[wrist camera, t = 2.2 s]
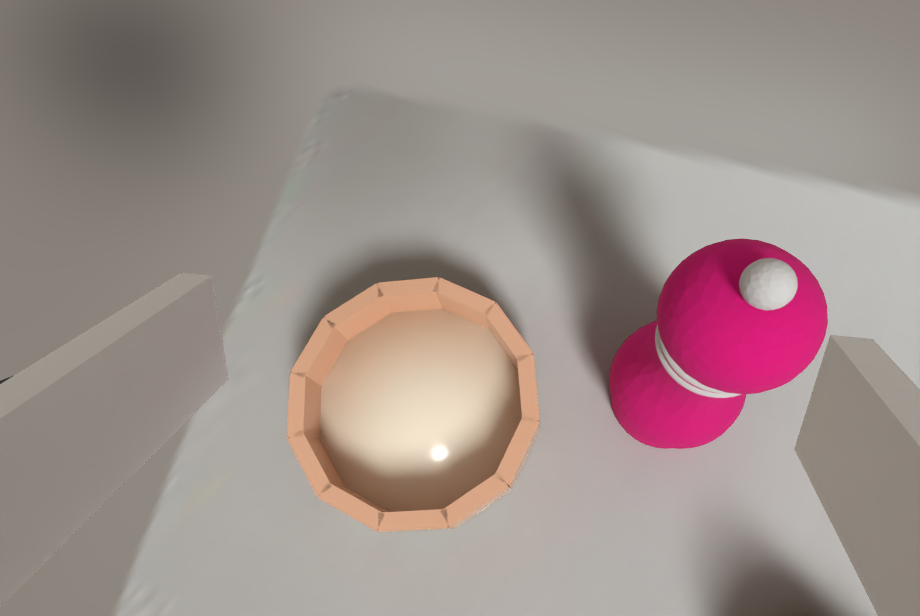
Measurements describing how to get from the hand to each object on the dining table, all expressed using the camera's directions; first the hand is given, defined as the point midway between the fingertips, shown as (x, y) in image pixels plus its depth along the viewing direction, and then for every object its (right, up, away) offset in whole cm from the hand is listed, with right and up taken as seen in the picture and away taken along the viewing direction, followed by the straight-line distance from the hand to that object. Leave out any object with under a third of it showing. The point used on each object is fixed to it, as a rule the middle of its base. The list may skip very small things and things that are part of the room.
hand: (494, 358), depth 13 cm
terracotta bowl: (-3, -5, +27) cm, 28 cm away
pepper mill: (+12, -5, +25) cm, 28 cm away
